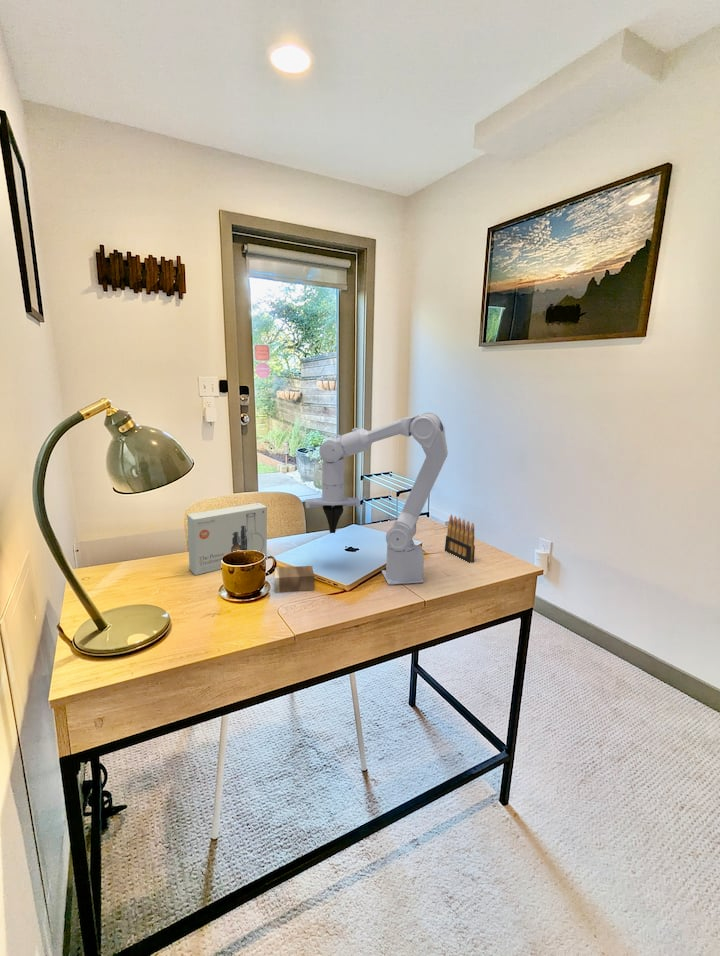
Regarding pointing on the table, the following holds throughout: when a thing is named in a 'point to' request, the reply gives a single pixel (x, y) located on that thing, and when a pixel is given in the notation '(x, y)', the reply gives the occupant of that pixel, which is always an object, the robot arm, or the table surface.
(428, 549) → the table surface
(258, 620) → the table surface
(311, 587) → the walnut block
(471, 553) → the ammunition clip
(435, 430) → the robot arm
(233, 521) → the skincare box
